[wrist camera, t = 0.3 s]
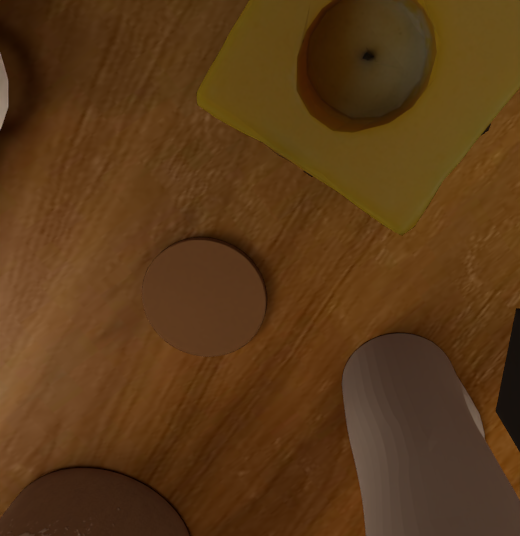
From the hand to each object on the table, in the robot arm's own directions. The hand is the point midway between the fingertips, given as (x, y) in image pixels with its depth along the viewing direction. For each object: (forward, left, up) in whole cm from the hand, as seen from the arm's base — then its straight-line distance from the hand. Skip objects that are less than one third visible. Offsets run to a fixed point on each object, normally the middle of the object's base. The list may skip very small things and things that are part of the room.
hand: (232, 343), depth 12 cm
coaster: (+4, -7, -18) cm, 20 cm away
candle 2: (+18, +2, -19) cm, 26 cm away
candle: (-4, +7, -19) cm, 20 cm away
